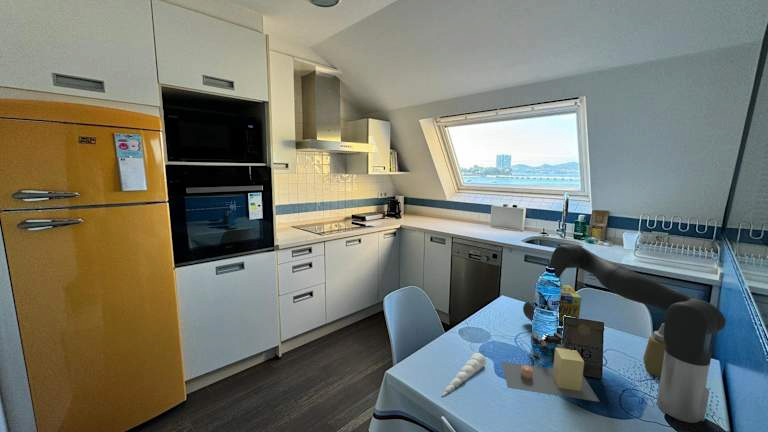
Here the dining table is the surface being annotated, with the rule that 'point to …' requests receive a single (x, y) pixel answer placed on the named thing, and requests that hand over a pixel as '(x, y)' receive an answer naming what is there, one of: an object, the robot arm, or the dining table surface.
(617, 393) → the dining table surface
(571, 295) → the protein box
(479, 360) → the unicorn horn
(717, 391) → the dining table surface
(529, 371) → the tan rounded blob
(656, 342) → the squeeze bottle
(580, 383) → the tall cream block
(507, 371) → the mat
